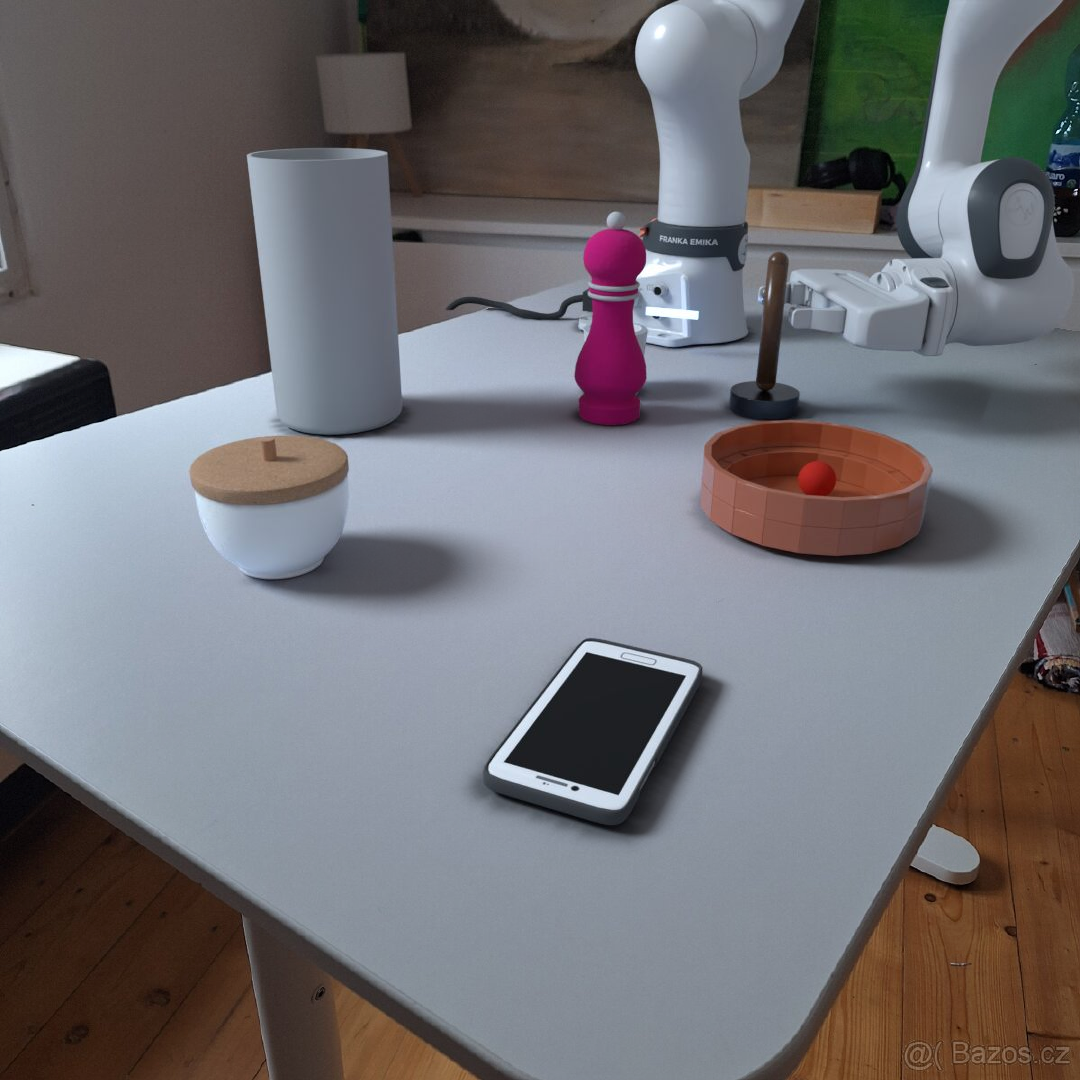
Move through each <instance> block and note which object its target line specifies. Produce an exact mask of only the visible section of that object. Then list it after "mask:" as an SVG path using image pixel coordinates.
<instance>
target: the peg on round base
mask: <svg viewBox="0 0 1080 1080" xmlns="http://www.w3.org/2000/svg"><path fill="white" fill-rule="evenodd" d="M789 267H790V260H789V257H788V255H787V254H786V253H785V252H782V251H775V252H773V253H772V254H771V255H770V256H769V257H768V260H767V267H766V278H765V286H766V287H765V297H764V305H763V309H762V317H761V328H760V337H759V349H758V359H757V366H756V378H755V380H749V381H742V382H738V383H736V384H734V385H732V386H731V387H730V392H729V401H728V402H729V404H728V408H729V410H730V411H731V412H732V413H734V414H736V415H738V416H741V417H744V418H748V419H754V420H761V421H762V420H763V421H780V420H787V419H789V418H793V417H795V416H796V415H797V414H798V410H799V401H800V393H801V392H800V391H799V390H798V389H797V388H796V387H793V386H791V385H788V384H786V383H781V382H777V376H778V366H779V358H780V357H779V356H780V347H781V339H782V329H783V320H784V311H785V304H784V303H785V294H786V285H787V282H788V274H789Z"/></svg>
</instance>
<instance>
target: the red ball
mask: <svg viewBox="0 0 1080 1080" xmlns="http://www.w3.org/2000/svg"><path fill="white" fill-rule="evenodd" d="M798 483H799V486H800V489H801V490H802V491H803V492H804V493H805V494H806V495H813V496H826V495H828V494H829V493H831V491H832V490H833V489H834V487H835V484H836V474H835V472H834V470H833V468H832V467H831V466H830V465H828V464H827V463H825V462H821V461H814V462H810V463H808V464H807V465H805V466H804V467H803V468H802V469H801V471H800V473H799V477H798Z"/></svg>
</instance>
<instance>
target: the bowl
mask: <svg viewBox="0 0 1080 1080" xmlns="http://www.w3.org/2000/svg"><path fill="white" fill-rule="evenodd" d="M814 461H821V462H825V463H827V464H828V465H830V466H831V467H832V468H833V470H834V472H835V474H836V484H835V487H834V489H833V490H832V491H831V493H829V494H828V495H826V496H813V495H806V494H805V493H804V492H803V491H802V490H801V489H800V486H799V483H798V477H799V473H800V471H801V469H802V468H803V467H804V466H805V465H807V464H808V463H810V462H814ZM933 471H934V470H933V467H932V466H931V464H930V462H929V460H928V458H927V456H926V455H924V454H923V453H921V452H920V451H919V450H917V449H916V448H914V447H913V446H912V445H910V444H908V443H906V442H904V441H902V440H899V439H897V438H894V437H892V436H890V435H887V434H884V433H880V432H877V431H873V430H870V429H866V428H862V427H858V426H854V425H846V424H840V423H833V422H828V421H817V420H800V419H799V420H797V419H780V420H763V421H762V420H761V421H755V422H750V423H745V424H740V425H735V426H734V425H733V426H732V427H729V428H727V429H723V430H721V431H718V432H717V433H715V434H714V435H712V436H711V437H710V438H709V439H708V440H707V441H706V442H705V443H704V447H703V458H702V471H701V483H700V498H699V499H700V500H699V507H700V508H701V510H702V511H703V513H704V514H705V516H706V517H707V518H708V519H709V521H710V522H712V523H713V524H715V525H717V526H718V527H720V528H721V529H723V530H724V531H726V532H727V533H729V534H730V535H733V536H735V537H738V538H742V539H743V540H746V541H749V542H752V543H754V544H757V545H760V546H762V547H768V548H771V549H776V550H781V551H786V552H789V553H790V552H791V553H796V554H803V555H815V556H831V557H832V556H833V557H843V556H854V555H856V556H857V555H869V554H875V553H880V552H883V551H884V552H885V551H887V550H890V549H895V548H899V547H901V546H903V545H904V544H906V543H908V542H909V541H910V540H912V539H913V538H915V537H917V536H918V535H919V533H920V530H921V528H922V525H923V523H924V519H925V514H926V509H927V503H928V497H929V493H930V487H931V481H932V477H933Z"/></svg>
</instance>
